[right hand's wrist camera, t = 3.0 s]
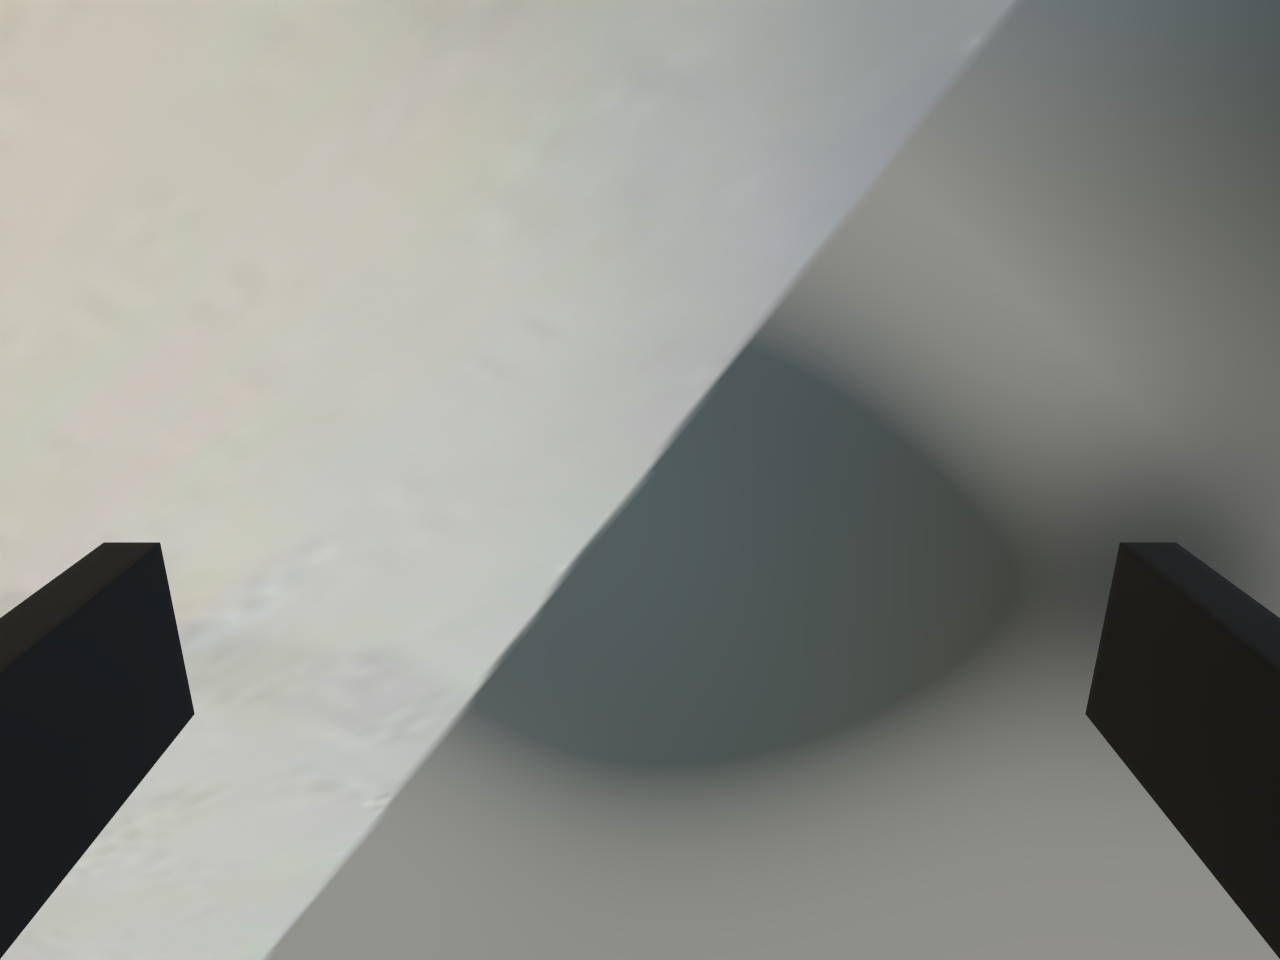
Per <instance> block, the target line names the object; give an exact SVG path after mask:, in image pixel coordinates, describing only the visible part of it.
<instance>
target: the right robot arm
mask: <svg viewBox="0 0 1280 960" xmlns="http://www.w3.org/2000/svg"><path fill="white" fill-rule="evenodd" d="M193 715H194V709H193V704H192V699H191V694H190V689H189V685H188V680H187V675H186V670H185V665H184V660H183V655H182V650H181V645H180V640H179V635H178V630H177V625H176V620H175V615H174V610H173V605H172V600H171V595H170V590H169V585H168V580H167V575H166V570H165V565H164V560H163V555H162V550H161V545H160V543H103V544H101V545H100V546H99V547H97V548H96V549H95V550H93V551H92V552H90V553H89V554H88V555H86V556H85V557H84V558H82V559H81V560H79V561H78V562H77V563H75V564H74V565H73V566H71V567H70V568H68V569H67V570H66V571H64V572H63V573H62V574H60V575H59V576H57V577H56V578H55V579H53V580H52V581H51V582H49V583H48V584H46V585H45V586H44V587H42V588H41V589H40V590H38V591H37V592H36V593H34V594H33V595H31V596H30V597H29V598H27V599H26V600H25V601H23V602H22V603H20V604H19V605H18V606H16V607H15V608H14V609H12V610H11V611H9V612H8V613H7V614H5V615H4V616H3V617H1V618H0V958H1V957H2V956H3V955H4V953H5V952H6V951H7V950H8V948H9V947H10V946H11V945H12V943H13V942H14V941H15V940H16V938H17V937H18V936H19V934H20V933H21V932H22V931H23V929H24V928H25V927H26V926H27V924H28V923H29V922H30V921H31V919H32V918H33V917H34V916H35V914H36V913H37V912H38V911H39V909H40V908H41V907H42V905H43V904H44V903H45V902H46V900H47V899H48V898H49V897H50V895H51V894H52V893H53V892H54V890H55V889H56V888H57V887H58V885H59V884H60V883H61V882H62V880H63V879H64V878H65V876H66V875H67V874H68V873H69V871H70V870H71V869H72V868H73V866H74V865H75V864H76V863H77V861H78V860H79V859H80V858H81V856H82V855H83V854H84V853H85V851H86V850H87V849H88V847H89V846H90V845H91V844H92V842H93V841H94V840H95V839H96V837H97V836H98V835H99V834H100V832H101V831H102V830H103V829H104V827H105V826H106V825H107V824H108V822H109V821H110V820H111V818H112V817H113V816H114V815H115V813H116V812H117V811H118V810H119V808H120V807H121V806H122V805H123V803H124V802H125V801H126V800H127V798H128V797H129V796H130V795H131V793H132V792H133V791H134V789H135V788H136V787H137V786H138V784H139V783H140V782H141V781H142V779H143V778H144V777H145V776H146V774H147V773H148V772H149V771H150V769H151V768H152V767H153V766H154V764H155V763H156V762H157V760H158V759H159V758H160V757H161V755H162V754H163V753H164V752H165V750H166V749H167V748H168V747H169V745H170V744H171V743H172V742H173V740H174V739H175V738H176V737H177V735H178V734H179V733H180V731H181V730H182V729H183V728H184V726H185V725H186V724H187V723H188V721H189V720H190V719H191V718H192V716H193ZM1086 715H1087V716H1088V718H1089V719H1090V720H1091V721H1092V723H1093V724H1094V725H1095V726H1096V728H1097V729H1098V730H1099V731H1100V733H1101V734H1102V735H1103V737H1104V738H1105V739H1106V740H1107V742H1108V743H1109V744H1110V745H1111V747H1112V748H1113V749H1114V750H1115V752H1116V753H1117V754H1118V755H1119V757H1120V758H1121V759H1122V760H1123V762H1124V763H1125V764H1126V766H1127V767H1128V768H1129V769H1130V770H1131V772H1132V773H1133V774H1134V776H1135V777H1136V778H1137V779H1138V781H1139V782H1140V783H1141V784H1142V786H1143V787H1144V788H1145V789H1146V791H1147V792H1148V793H1149V795H1150V796H1151V797H1152V798H1153V800H1154V801H1155V802H1156V803H1157V805H1158V806H1159V807H1160V808H1161V810H1162V811H1163V812H1164V813H1165V815H1166V816H1167V817H1168V818H1169V820H1170V821H1171V822H1172V823H1173V825H1174V826H1175V827H1176V829H1177V830H1178V831H1179V832H1180V834H1181V835H1182V836H1183V837H1184V839H1185V840H1186V841H1187V842H1188V844H1189V845H1190V846H1191V847H1192V849H1193V850H1194V851H1195V853H1196V854H1197V855H1198V856H1199V858H1200V859H1201V860H1202V861H1203V863H1204V864H1205V865H1206V866H1207V868H1208V869H1209V870H1210V871H1211V873H1212V874H1213V875H1214V876H1215V878H1216V879H1217V880H1218V882H1219V883H1220V884H1221V885H1222V887H1223V888H1224V889H1225V890H1226V892H1227V893H1228V894H1229V895H1230V897H1231V898H1232V899H1233V900H1234V902H1235V903H1236V904H1237V905H1238V907H1239V908H1240V909H1241V911H1242V912H1243V913H1244V914H1245V916H1246V917H1247V918H1248V919H1249V921H1250V922H1251V923H1252V924H1253V926H1254V927H1255V928H1256V929H1257V931H1258V932H1259V933H1260V934H1261V936H1262V937H1263V938H1264V940H1265V941H1266V942H1267V943H1268V945H1269V946H1270V947H1271V948H1272V950H1273V951H1274V952H1275V953H1276V955H1277V956H1278V957H1279V958H1280V618H1279V617H1277V616H1276V615H1275V614H1273V613H1272V612H1271V611H1269V610H1268V609H1266V608H1265V607H1264V606H1262V605H1261V604H1260V603H1258V602H1257V601H1255V600H1254V599H1253V598H1251V597H1250V596H1249V595H1247V594H1246V593H1244V592H1243V591H1242V590H1240V589H1239V588H1238V587H1236V586H1235V585H1233V584H1232V583H1231V582H1229V581H1228V580H1227V579H1225V578H1224V577H1222V576H1221V575H1220V574H1218V573H1217V572H1216V571H1214V570H1213V569H1212V568H1210V567H1209V566H1207V565H1206V564H1205V563H1203V562H1202V561H1201V560H1199V559H1198V558H1196V557H1195V556H1194V555H1192V554H1191V553H1190V552H1188V551H1187V550H1185V549H1184V548H1183V547H1181V546H1180V545H1179V544H1177V543H1120V545H1119V550H1118V555H1117V560H1116V565H1115V570H1114V575H1113V580H1112V585H1111V590H1110V595H1109V600H1108V605H1107V610H1106V615H1105V620H1104V625H1103V630H1102V635H1101V640H1100V645H1099V650H1098V655H1097V660H1096V665H1095V670H1094V675H1093V680H1092V685H1091V689H1090V694H1089V700H1088V704H1087V709H1086Z"/></svg>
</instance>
